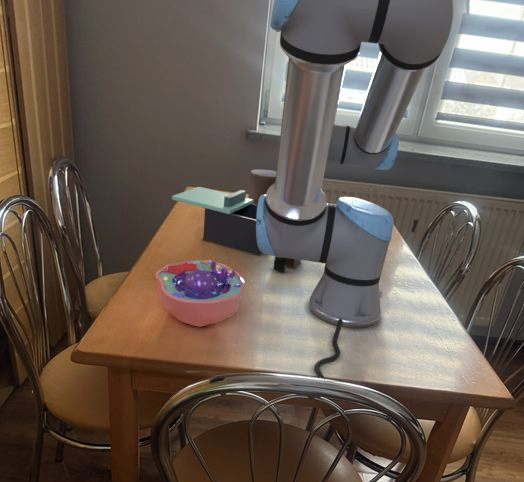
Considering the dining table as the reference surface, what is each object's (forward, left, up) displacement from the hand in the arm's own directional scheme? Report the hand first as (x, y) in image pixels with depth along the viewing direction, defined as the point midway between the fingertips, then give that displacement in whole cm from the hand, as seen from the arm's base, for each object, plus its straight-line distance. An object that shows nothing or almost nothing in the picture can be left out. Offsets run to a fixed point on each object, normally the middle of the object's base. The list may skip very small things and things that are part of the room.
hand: (288, 262), depth 131 cm
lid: (+7, +26, +9) cm, 29 cm away
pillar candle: (+32, +22, 0) cm, 39 cm away
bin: (+7, +17, 0) cm, 18 cm away
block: (0, 0, 0) cm, 0 cm away
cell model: (-39, +4, 0) cm, 39 cm away
